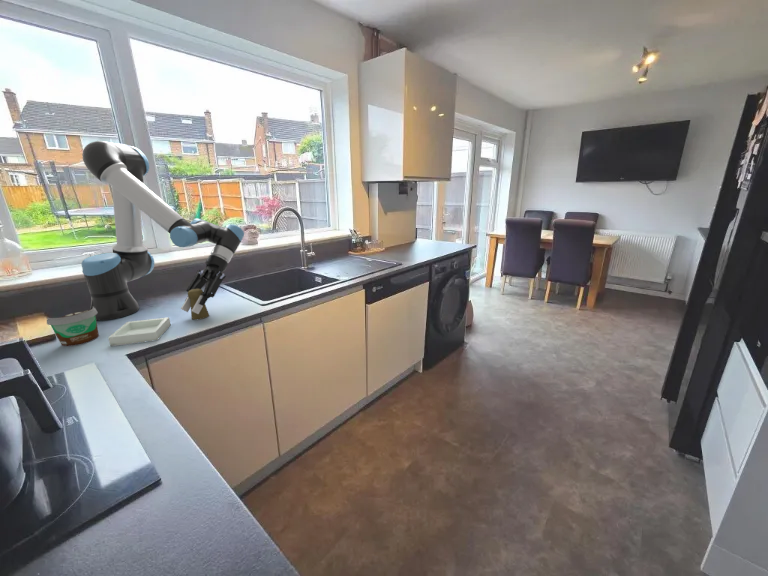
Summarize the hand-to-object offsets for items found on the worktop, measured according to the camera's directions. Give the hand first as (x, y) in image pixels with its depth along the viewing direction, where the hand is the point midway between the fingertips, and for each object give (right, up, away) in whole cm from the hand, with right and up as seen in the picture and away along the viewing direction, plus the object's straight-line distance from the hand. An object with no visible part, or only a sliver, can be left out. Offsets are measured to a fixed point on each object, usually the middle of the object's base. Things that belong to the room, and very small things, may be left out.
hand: (189, 311), depth 120 cm
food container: (-26, -9, -15) cm, 31 cm away
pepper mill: (+2, -3, +4) cm, 5 cm away
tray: (-10, -7, -11) cm, 16 cm away
